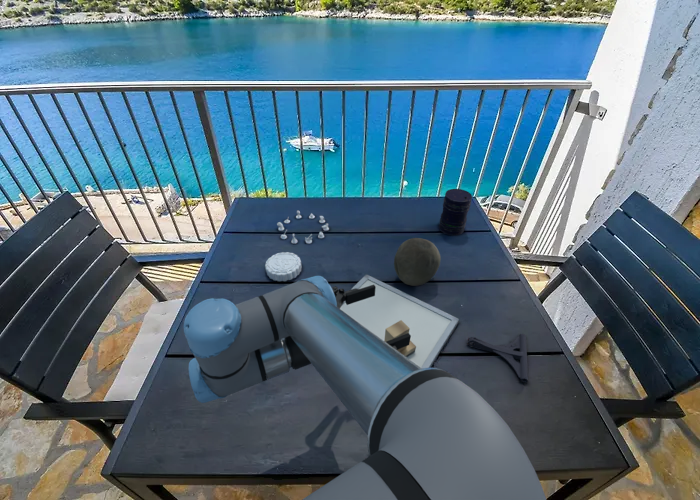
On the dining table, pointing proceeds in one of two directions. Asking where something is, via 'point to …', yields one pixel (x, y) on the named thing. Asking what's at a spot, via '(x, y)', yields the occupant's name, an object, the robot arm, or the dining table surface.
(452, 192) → the storage jar
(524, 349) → the bracket
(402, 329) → the eraser
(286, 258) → the mooncake
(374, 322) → the board
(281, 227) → the game piece set
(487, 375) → the dining table surface
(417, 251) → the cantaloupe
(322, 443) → the dining table surface
